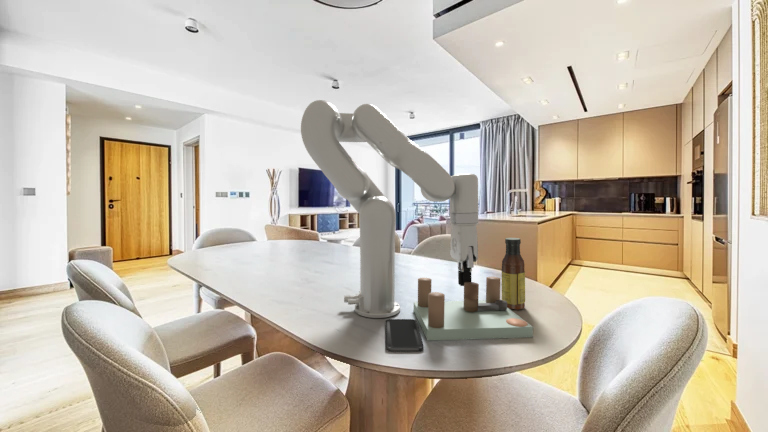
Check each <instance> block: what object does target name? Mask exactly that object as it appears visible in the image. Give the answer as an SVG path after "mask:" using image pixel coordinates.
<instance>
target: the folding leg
mask: <svg viewBox="0 0 768 432" xmlns="http://www.w3.org/2000/svg"><path fill="white" fill-rule="evenodd" d="M479 285H480V284H479V283H477V282H475V281H474V282H473V281H471V282H465V283H464V286H463V301H464V310H466V311H469V312H476V311H478V310H503V311H504V310H507V302H506V301H504V300H502V299H500V300H496V301H495V303H478V301H479V289H480V288H479Z"/></svg>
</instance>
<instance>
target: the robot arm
mask: <svg viewBox="0 0 768 432" xmlns="http://www.w3.org/2000/svg"><path fill="white" fill-rule="evenodd" d="M300 135H301V140H302V143H303V145H304V148H305V149H306V151H307V153H308V155H309V156H310V157H311V159H312V160H313V162H314V163H315V164H316V166H318V168H319V169H320V170H321V172H322V173H323V175H324V176H325V177H326V178H327V180H329V182H330V183H331V184H332V186H333V187H334V188H335V190H336V191H337V193H338V194H339V195H340V196H341V197H342V198H344V199H346V201H348V202H349V204H350V205H351V206H352V207H353V208H354V210H356V212H357V213H358V214H359V217H358V218H359V220H358V221H359V224H358V225H359V254H360V255H359V258H360V259H359V263H360V264H359V265H360V268H359V270H360V272H359V274H360V281H359V282H360V283H359V285H360V289H359V290H360V291H358V292H359V293H356V294H355V295H349V294H346V295H344V296H343V297H344V298H343V301H344V303H347V305H349V306H350V305H354V312H355V313H356V314H357V315H359V316H361V317H365V318H370V319H383V318H384V319H385V318H390V317H393V316H396V315H397V314H399V313H400V311H401V305H400V304H399V303H398V302H397V301H395V293H396V292H395V282H396V281H395V278H396V277H395V276H396V275H395V273H396V272H395V271H396V269H395V267H396V265H395V263H396V262H395V260H396V259H395V258H396V257H395V256H396V255H395V254H396V247H395V246H396V245H395V244H396V221H397V220H396V219H397V218H396V215H397V214H396V209H395V206H394V205H393V203H392V201H390V200H389V199H388V198H387V197H386V196H385V194H384V193H383V192H382V191H381V190H380V189H379V187H378V186H377V184H376V183H374V181H373V180H372V179H371V177H370V176H369V175H368V174H367V172H366V171H365V170H364V169H362V168H361V167H360V166H359V165H358V164H357V163H356V161H354V159H353V158H352V157H351V155H350V154H349V153H348V152H347V150H346V149H345V148H344V146H343V145H342V144H341V143H367V144H368V145H369V146H370V147H371V148H372V149H373V150H374V151H375V152H376V153H377V154H378V155H379V156H380V157H381V158H383V159H384V160H385V161H386V162H387V164H389V165H390V166H392V167H394V168H395V169H397V170H399V171H401V172H402V173H404V174H405V175H407V177H408V178H410V179H411V180H412V181H413V182H414V183H415V184H416V185H417V186H418V187H419V188H420V193H421V195H422V197H423V198H424V199H426V200H427V201H429V202H434V203H435V202H436V203H440V202H441V203H442V202H445V201H448V200H449V212H450V213H449V222H450V226H451V228H450V229H451V231H450V244H449V245H450V247H449V248H450V250H449V252H450V256H451V258H452V259H454V260H455V261H456V262H457V277H458V283H457V284H458V285H459V286H460V287H464V283H465V282H472V271H473V268H474V267H475V265H474V263H476V262H477V261H478V259H479V245H478V230H477V226H478V225H479V179H478V176H477V175H476V174H475V173H456V174H454V175H450V173H449V172H448V171H447V170H446V169H445V167H443V166H442V165H441V164H440V163H439V162H438V161H437V160H436V159H435V158H433V156H432V155H430V154H429V153H428V152H427V151H425V150H424V149H423V148H421V147H420V146H419V145H418V144H416V143H415V142H414V141H412V140H411V139H410V138H409V137H408V136H407V135H406V134H405V133H404V132H403V131H402V130H400V129H399V127H397V125H396V124H395V123H394V122H393V121H392V120H391V119H389V118H388V117H387V115H386V114H385V113H383V112H382V111H381V110H380V109H379V108H378V107H377V106H376V105H373V104H371V103H364V104H361V105H359V106H358V107H357V108H356V109H355V110H354V111H353V113H349V112H347V113H346V112H344V113H343V112H339V111H338V109H337V107H336V106H335V105H334V104H332V103H331V102H329V101H326V100H323V99H316V100H314V101H312V102H310V103H309V104H308V106H306V108H305V110H304V111H303V114H302V118H301V123H300Z"/></svg>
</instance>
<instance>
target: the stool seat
mask: <svg viewBox="0 0 768 432" xmlns="http://www.w3.org/2000/svg"><path fill="white" fill-rule="evenodd" d="M445 298H446V297H445V294H444V293H442V292H437V291H432V279H431V278H430V277H419V278H417V301H413V313H414V315H415V317H416V318H417V322H418V323H419V326H420V327H421V330H422V332H423V334H424V335H425V339H426V340H427V341H451V340H452V341H456V340H457V341H458V340H483V339H484V340H486V339H490V340H491V339H492V340H493V339H513V338H514V339H517V338H518V339H520V338H521V339H522V338H533V336H534V335H533V333H534V326H533V325H532V324H530V323H529V322H527V321H526V320H524V319H523V317H521V316H520V315H518V314H517V313H515V312H514V311H513V310H512V309H509V308H507V310H504V311H503V310H478V311H476V312H469V311H466V310H464V300H452V301H451V300H450V301H449V300H448V301H446V299H445ZM496 300H501V277H497V276H486V283H485V300H478V303H495V301H496Z"/></svg>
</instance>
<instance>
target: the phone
mask: <svg viewBox="0 0 768 432" xmlns="http://www.w3.org/2000/svg"><path fill="white" fill-rule="evenodd" d="M424 348H425V346H424V343H423V339H422V335H421V331H420V328H419V324H418V320H416V319H413V318H402V319H401V318H392V319H391V318H388V319H386V320H385V350H386V351H387V352H390V353H420V352H421V353H422V352H423V351H424Z"/></svg>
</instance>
